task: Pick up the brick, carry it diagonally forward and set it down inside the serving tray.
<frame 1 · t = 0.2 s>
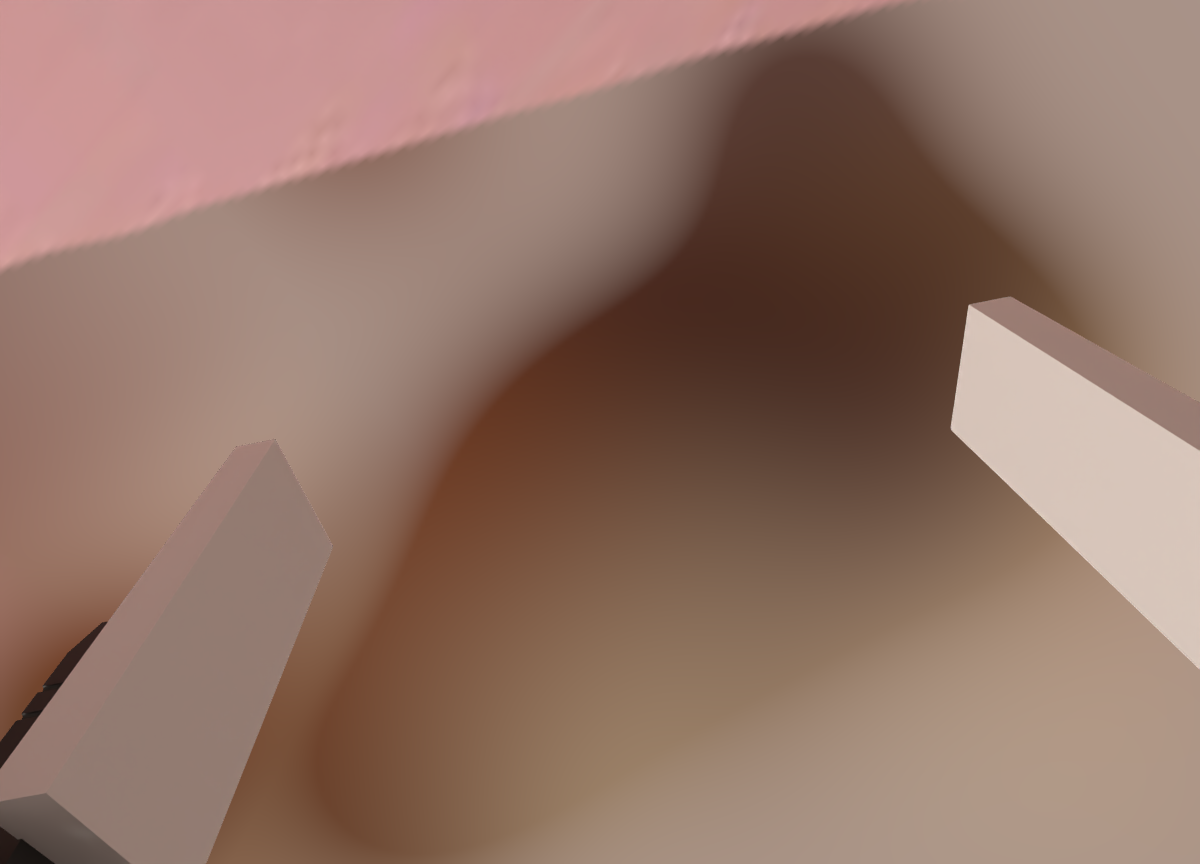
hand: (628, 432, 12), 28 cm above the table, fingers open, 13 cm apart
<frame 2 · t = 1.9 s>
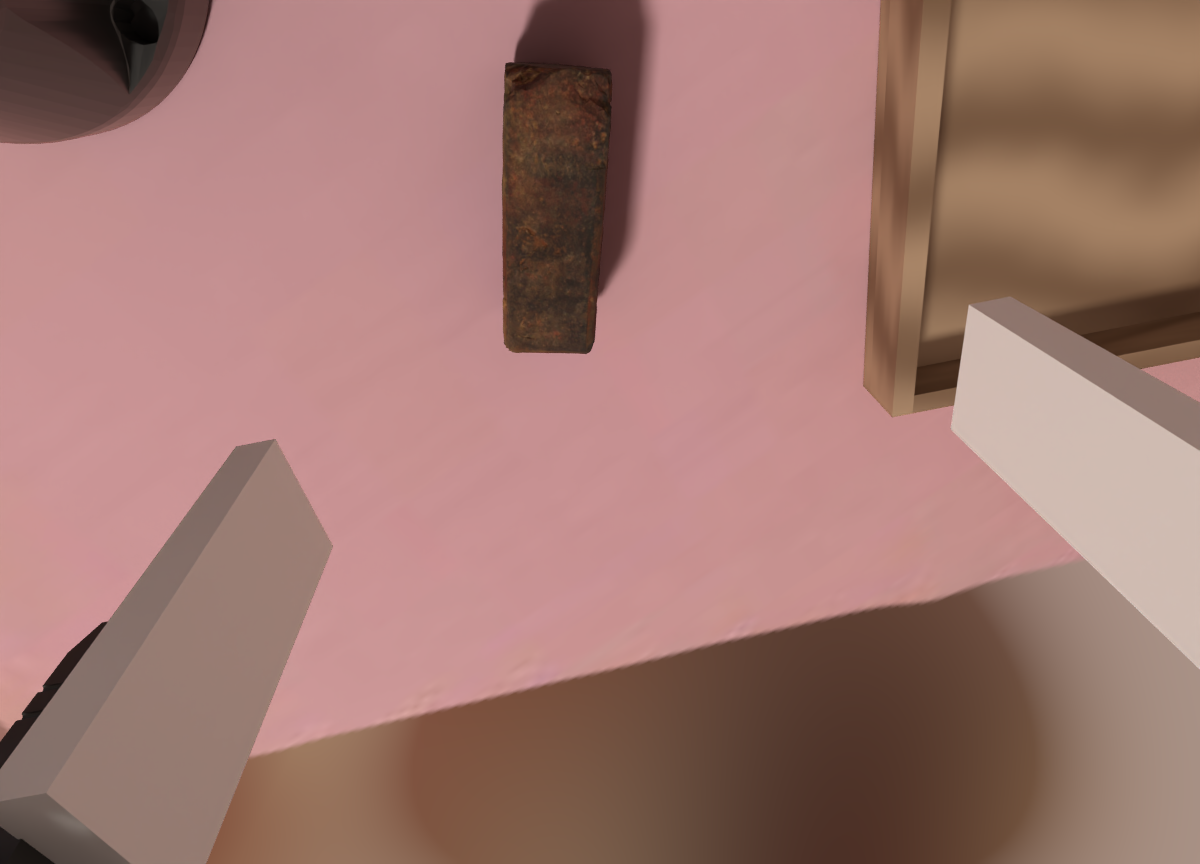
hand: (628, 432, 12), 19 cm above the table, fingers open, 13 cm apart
tray: (1123, 118, 28), on the table
brick: (551, 201, 28), on the table
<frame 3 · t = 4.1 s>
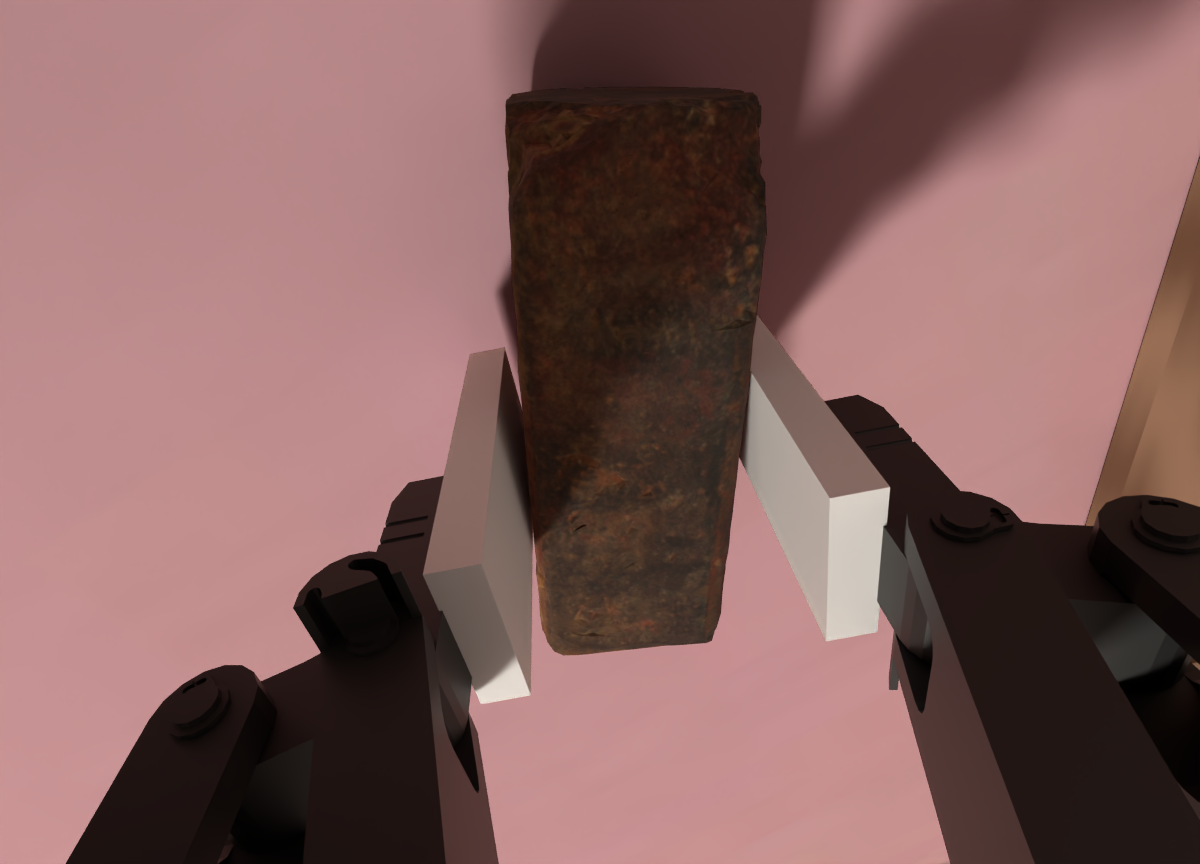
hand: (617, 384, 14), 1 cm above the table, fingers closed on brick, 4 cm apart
brick: (611, 339, 15), on the table, touching gripper
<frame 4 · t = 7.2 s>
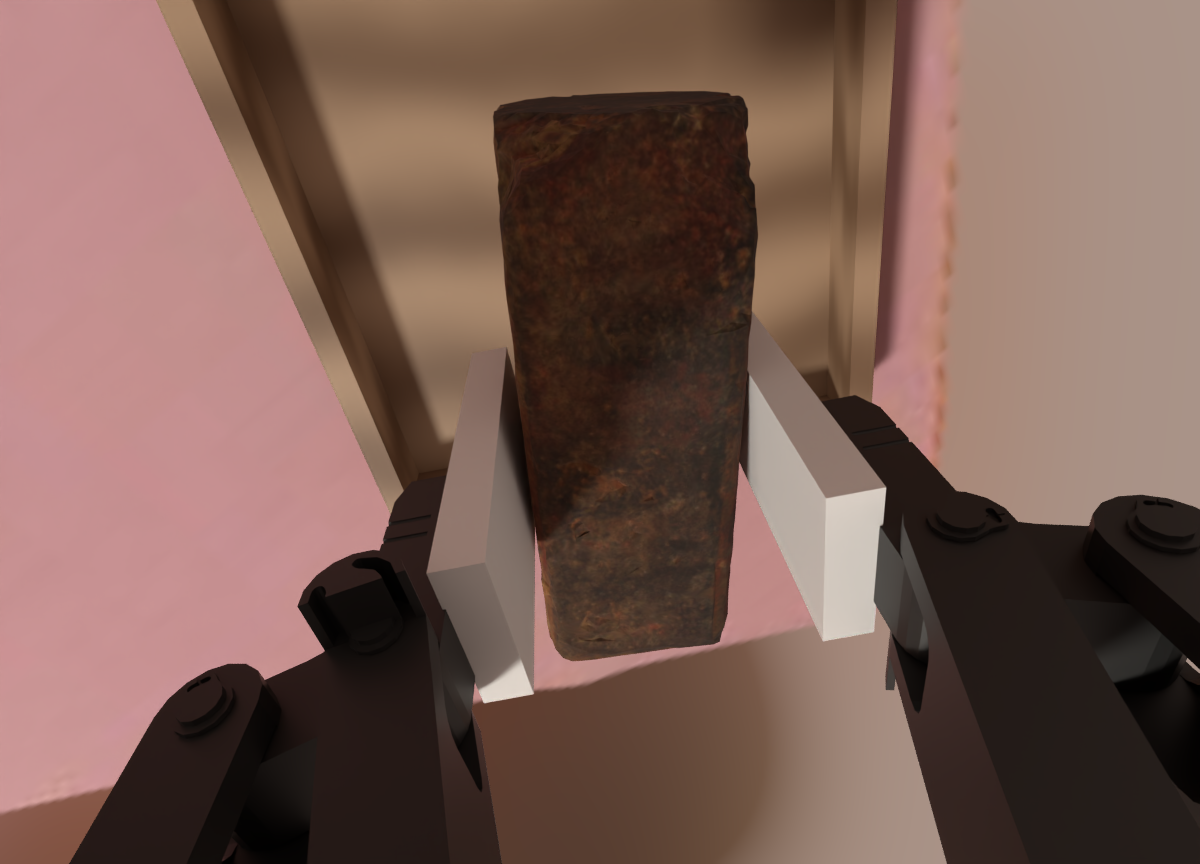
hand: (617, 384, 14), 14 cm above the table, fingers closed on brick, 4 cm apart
tray: (581, 222, 26), on the table
brick: (608, 343, 15), point 13 cm above the table, touching gripper
when the fingers open (3 cm above the table, at t = 9.9 s): brick stays where it is, resting on tray.
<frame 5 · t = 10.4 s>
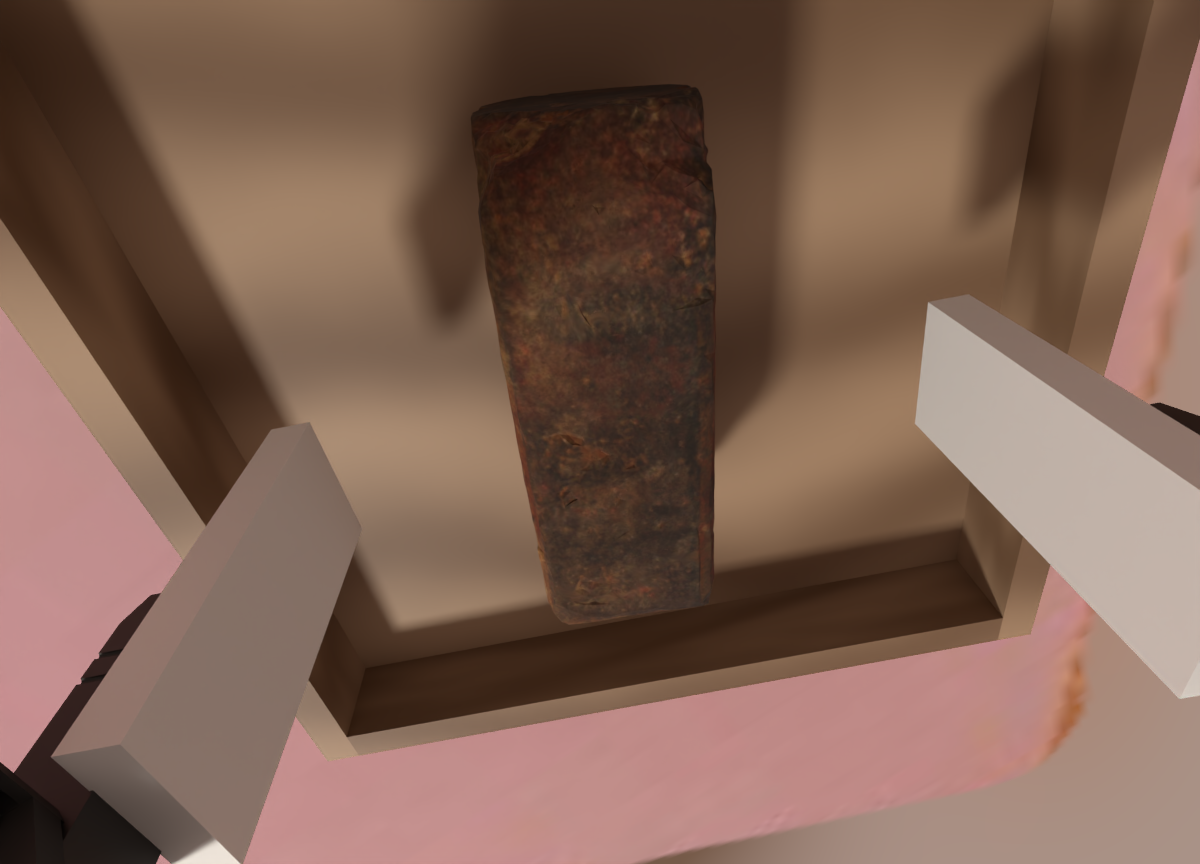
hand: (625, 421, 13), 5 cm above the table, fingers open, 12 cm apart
tray: (605, 330, 17), on the table
brick: (597, 327, 16), point 1 cm above the table, touching tray
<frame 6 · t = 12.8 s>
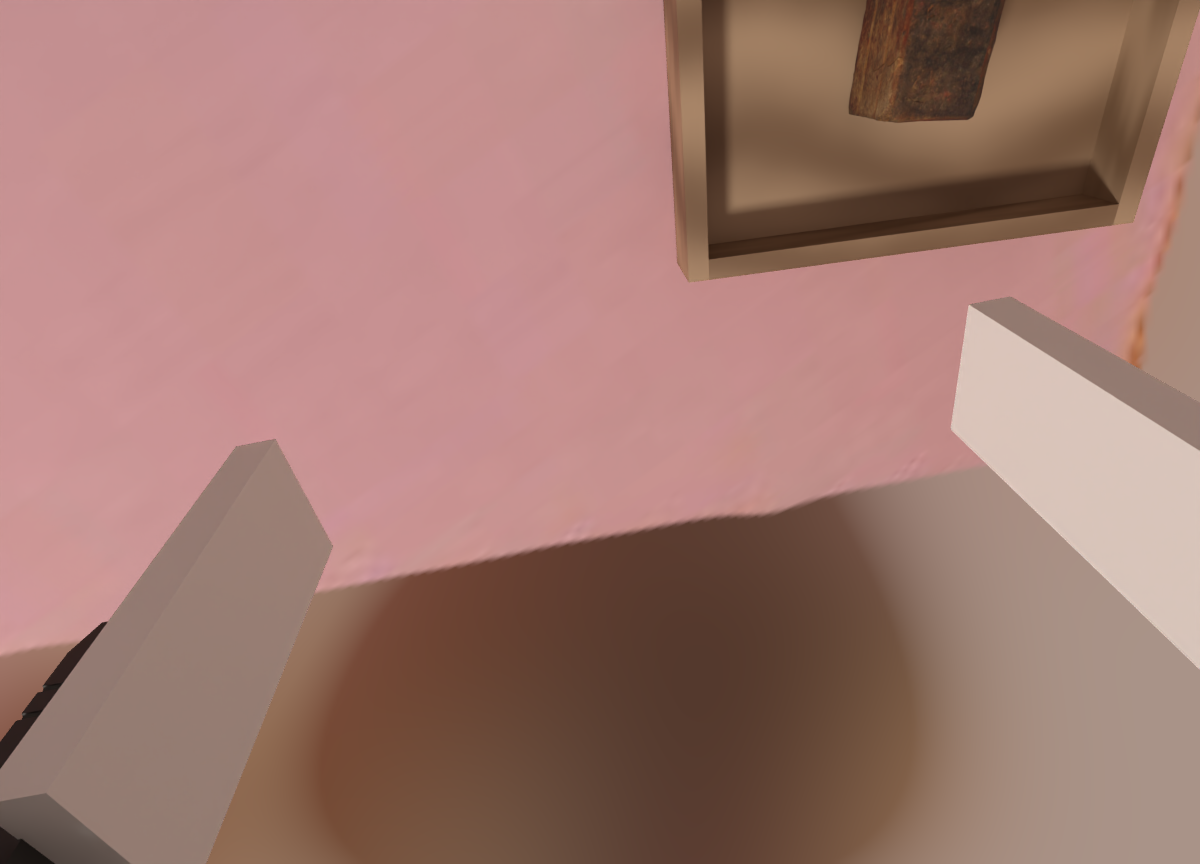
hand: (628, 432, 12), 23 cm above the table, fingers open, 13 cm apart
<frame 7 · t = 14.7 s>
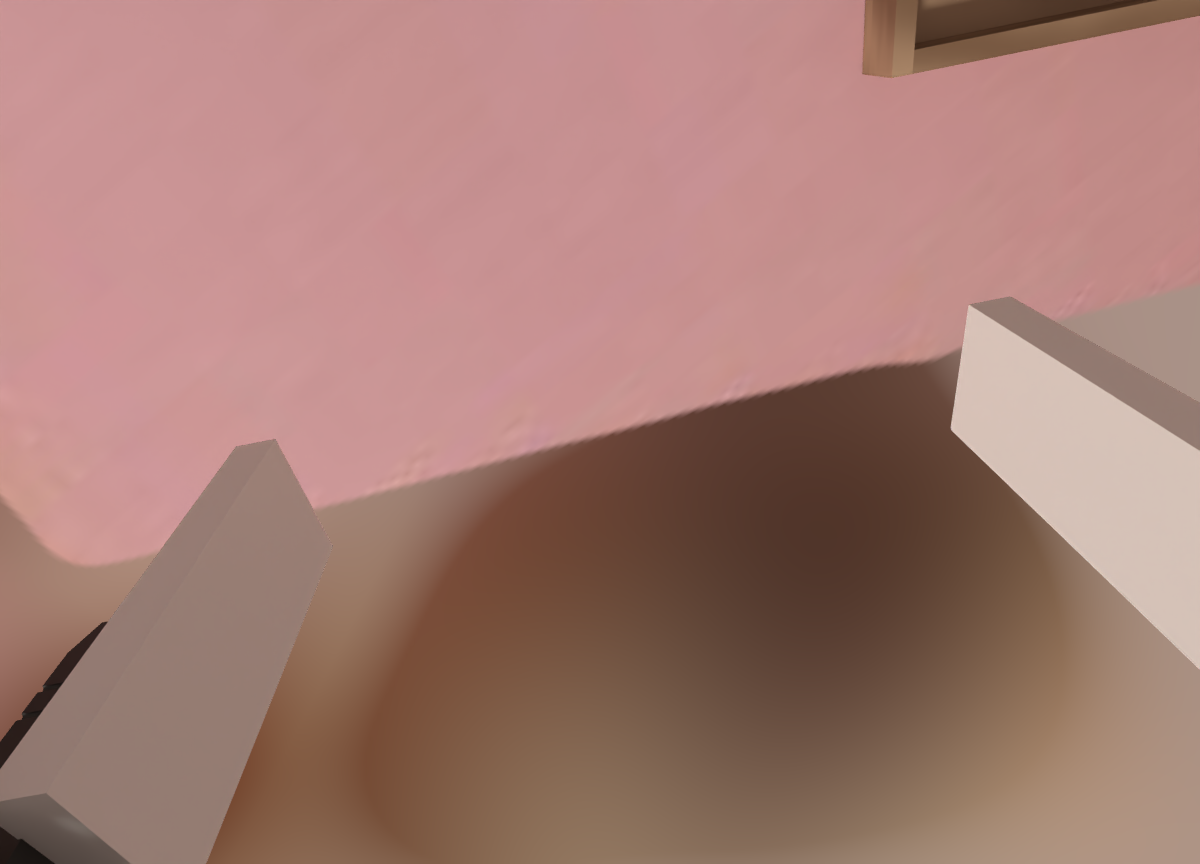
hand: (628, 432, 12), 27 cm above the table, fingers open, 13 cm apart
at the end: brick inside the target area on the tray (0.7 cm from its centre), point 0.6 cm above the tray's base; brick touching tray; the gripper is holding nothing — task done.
